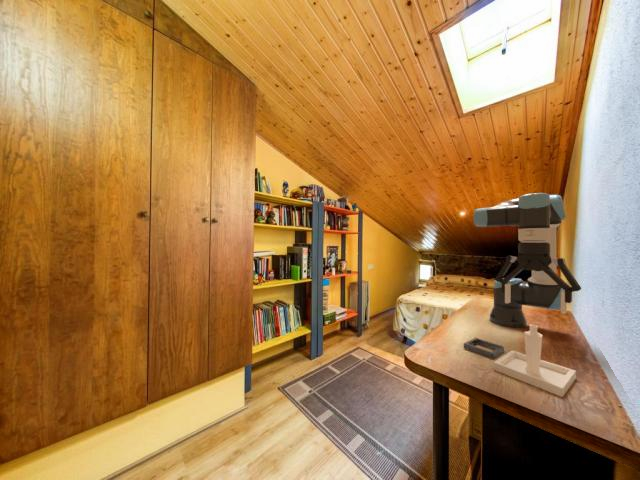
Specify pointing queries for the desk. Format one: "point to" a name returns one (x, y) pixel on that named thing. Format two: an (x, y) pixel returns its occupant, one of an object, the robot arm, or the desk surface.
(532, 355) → the perfume bottle
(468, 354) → the desk surface
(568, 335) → the desk surface
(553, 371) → the tray
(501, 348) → the ring collar
